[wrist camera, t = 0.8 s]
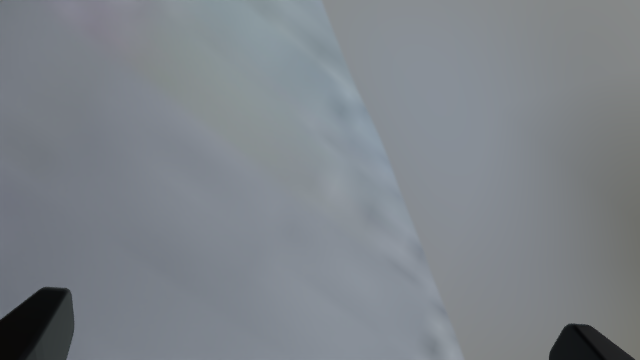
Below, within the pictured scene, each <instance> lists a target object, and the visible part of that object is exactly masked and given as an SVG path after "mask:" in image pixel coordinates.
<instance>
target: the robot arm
mask: <svg viewBox="0 0 640 360" xmlns="http://www.w3.org/2000/svg"><path fill="white" fill-rule="evenodd" d="M73 333H74V314H73V303H72V294H71V292H70V290H69V289H67V288H58V287H43V288H41V289H40V290H38V291H37V292H36V293H34V294H33V295H32V296H30V297H29V298H28V299H27V300H25V301H24V302H23V303H21V304H20V305H19V306H17V307H16V308H15V309H14V310H12V311H11V312H10V313H8V314H7V315H6V316H5V317H3V318H2V319H1V320H0V360H66V358H67V355H68V351H69V348H70V344H71V341H72V337H73ZM549 360H635V359H634V358H632V357H631V356H630V355H629V354H627V353H626V352H624V351H623V350H622V349H621V348H619V347H618V346H617V345H615V344H614V343H613V342H611V341H610V340H609V339H608V338H606V337H605V336H604V335H602V334H601V333H600V332H598V331H597V330H596V329H594V328H593V327H591V326H589V325H585V324H568V325H566V326H565V327H564V328H563V330H562V332H561V333H560V335H559V337H558V339H557V341H556V342H555V344H554V345H553V347H552V349H551V351H550V354H549Z"/></svg>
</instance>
